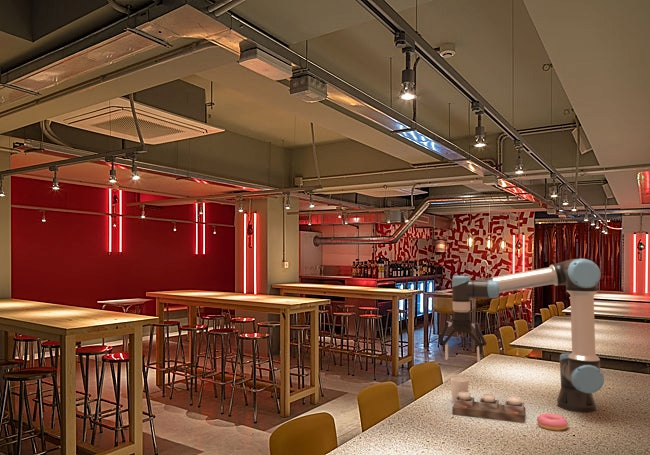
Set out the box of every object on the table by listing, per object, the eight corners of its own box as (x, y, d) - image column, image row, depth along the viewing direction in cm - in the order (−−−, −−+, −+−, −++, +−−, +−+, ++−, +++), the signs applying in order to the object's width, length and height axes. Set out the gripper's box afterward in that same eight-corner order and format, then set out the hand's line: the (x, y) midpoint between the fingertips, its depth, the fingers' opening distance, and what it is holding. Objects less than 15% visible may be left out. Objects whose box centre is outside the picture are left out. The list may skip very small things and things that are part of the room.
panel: (525, 414, 202) (525, 402, 203) (524, 423, 192) (524, 410, 192) (457, 406, 214) (456, 394, 214) (452, 414, 203) (452, 402, 203)
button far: (471, 397, 210) (471, 392, 210) (469, 400, 205) (469, 395, 205) (459, 395, 212) (459, 391, 212) (457, 398, 207) (457, 394, 207)
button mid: (495, 399, 206) (495, 394, 206) (494, 402, 201) (494, 397, 201) (483, 398, 208) (483, 393, 208) (482, 401, 203) (481, 396, 203)
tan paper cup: (469, 404, 217) (469, 381, 217) (451, 403, 218) (450, 381, 219) (468, 399, 224) (467, 377, 225) (450, 398, 226) (450, 377, 226)
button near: (521, 402, 202) (520, 397, 202) (520, 405, 197) (520, 400, 197) (508, 400, 204) (508, 396, 204) (507, 404, 199) (507, 399, 199)
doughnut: (566, 434, 180) (566, 422, 180) (534, 428, 186) (534, 417, 186) (569, 425, 189) (569, 414, 190) (539, 420, 195) (538, 410, 195)
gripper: (492, 311, 210) (493, 361, 209) (434, 309, 221) (435, 356, 219) (490, 313, 203) (491, 364, 202) (431, 310, 214) (432, 359, 212)
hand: (462, 360), depth 211 cm, fingers open, 13 cm apart
